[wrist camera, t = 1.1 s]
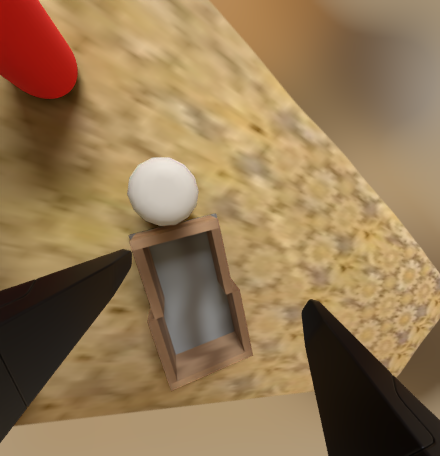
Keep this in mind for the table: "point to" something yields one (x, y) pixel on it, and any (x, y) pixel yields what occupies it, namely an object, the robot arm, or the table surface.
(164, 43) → the table surface
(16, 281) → the table surface
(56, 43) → the beverage can
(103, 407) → the table surface
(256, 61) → the table surface
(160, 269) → the brown wooden rectangular tray
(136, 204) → the salt shaker
